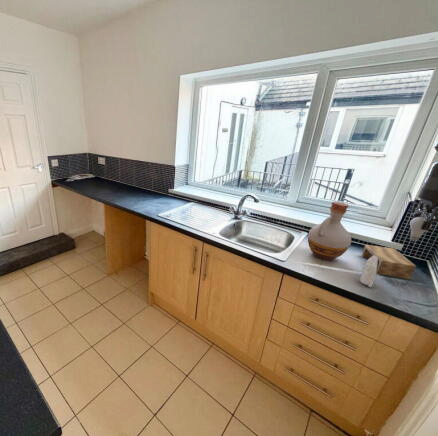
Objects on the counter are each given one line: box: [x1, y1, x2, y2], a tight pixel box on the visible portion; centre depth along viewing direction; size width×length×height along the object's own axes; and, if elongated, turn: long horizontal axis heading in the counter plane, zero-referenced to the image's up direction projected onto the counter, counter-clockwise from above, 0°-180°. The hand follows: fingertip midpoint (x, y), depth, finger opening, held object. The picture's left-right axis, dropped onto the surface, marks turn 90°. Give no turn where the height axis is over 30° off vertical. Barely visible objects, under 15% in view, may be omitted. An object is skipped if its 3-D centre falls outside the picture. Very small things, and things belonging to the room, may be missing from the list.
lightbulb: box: [409, 216, 433, 242], centre depth 102 cm, size 6×6×11 cm
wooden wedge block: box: [361, 244, 417, 280], centre depth 119 cm, size 12×18×7 cm, turn 159°
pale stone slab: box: [359, 256, 379, 288], centre depth 107 cm, size 12×4×11 cm, turn 139°
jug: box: [307, 201, 352, 261], centre depth 122 cm, size 20×18×30 cm
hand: (419, 226), depth 102 cm, fingers closed on lightbulb, 6 cm apart
